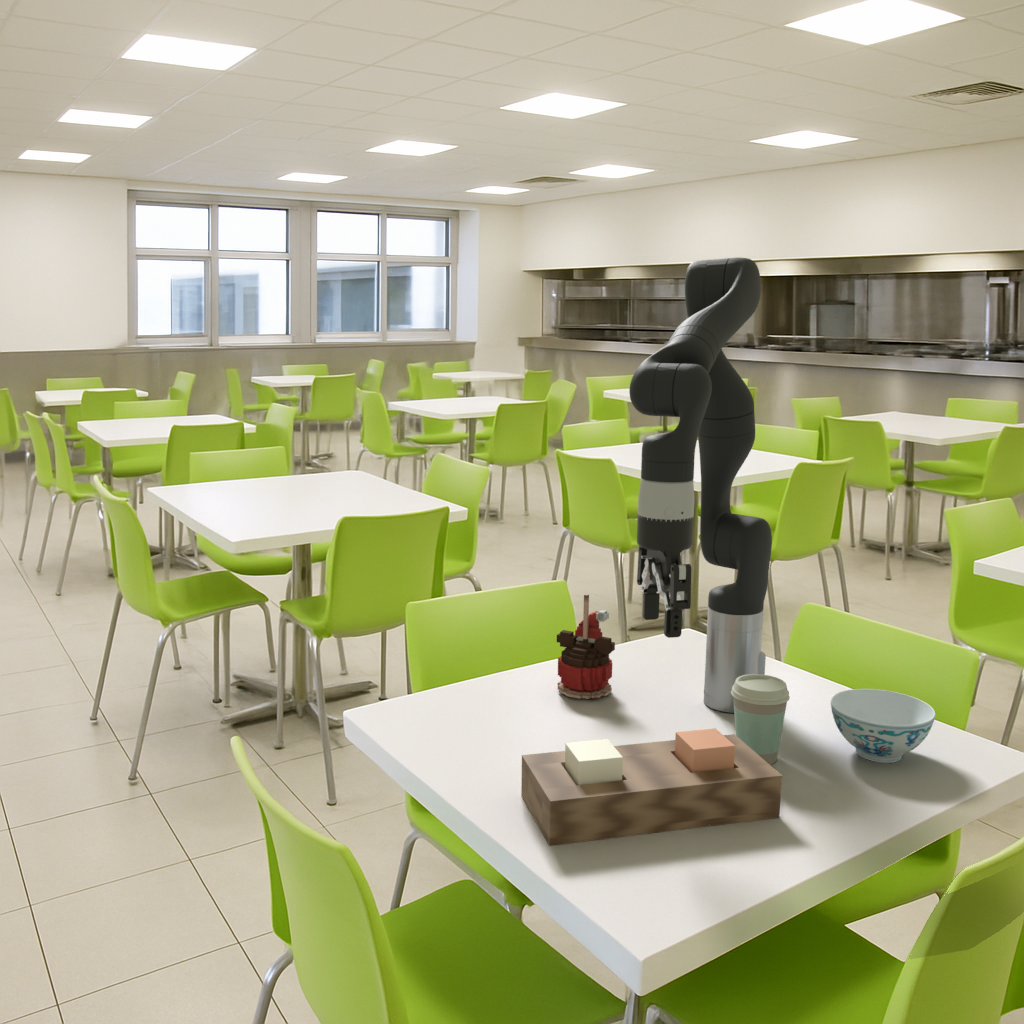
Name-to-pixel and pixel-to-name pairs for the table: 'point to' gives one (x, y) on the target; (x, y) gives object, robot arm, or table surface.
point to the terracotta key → (704, 750)
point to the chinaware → (881, 722)
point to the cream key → (593, 762)
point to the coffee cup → (760, 712)
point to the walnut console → (648, 794)
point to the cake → (585, 657)
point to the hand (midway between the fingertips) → (661, 627)
